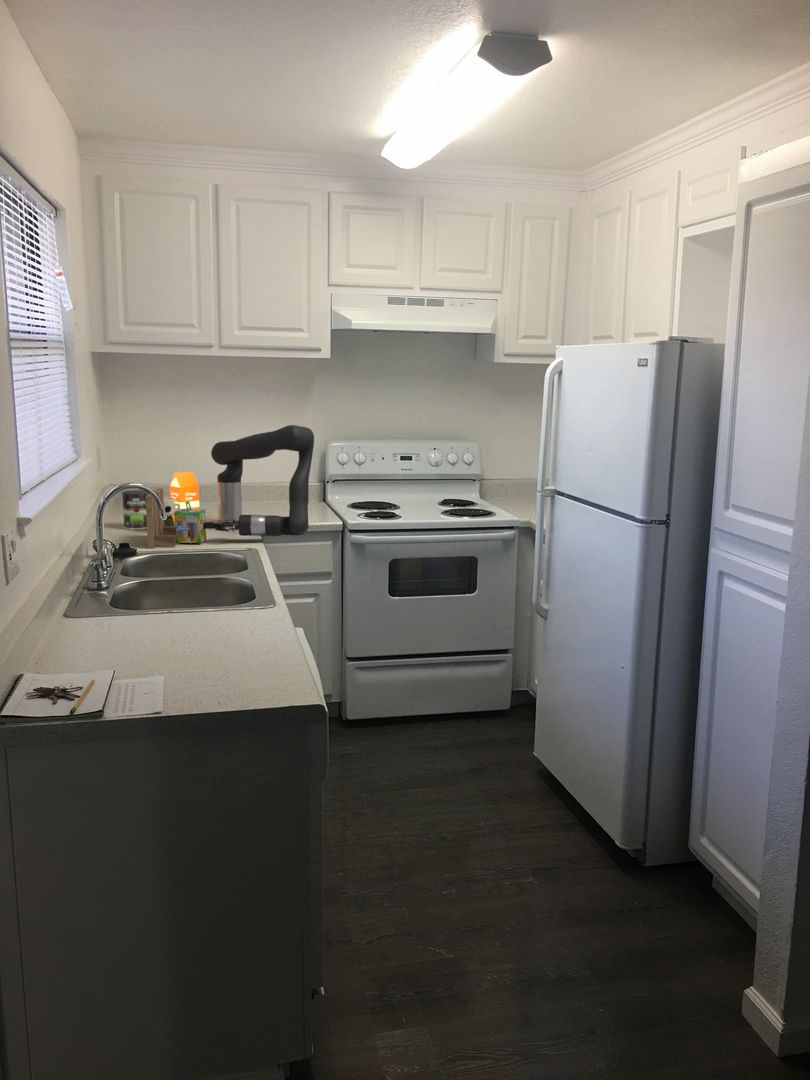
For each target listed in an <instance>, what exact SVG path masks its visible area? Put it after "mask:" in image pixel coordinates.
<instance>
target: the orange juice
mask: <svg viewBox="0 0 810 1080" xmlns="http://www.w3.org/2000/svg"><path fill="white" fill-rule="evenodd" d="M199 488H200V486H199V483H198V482H197V478H196V476H195V475H194V472H193V471H187V472H174V474H173V476H172V480H171V482H170V484H169V497H170V498H175V503H179V504H180V509H187V507H186V504H185V502H186V501H189V502H190V505H191V508H192V509H200V495H199V493H200V492H199ZM188 508H189V504H188ZM175 509H178V506H175ZM172 517H173V520H174V521H175V518H174V515H173V516H172Z"/></svg>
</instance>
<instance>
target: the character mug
mask: <svg viewBox="0 0 810 1080" xmlns="http://www.w3.org/2000/svg"><path fill="white" fill-rule="evenodd" d="M175 506H178V509H175ZM164 509H165V512H166V515H167V519H166V520H165V527H170V526H175V522H174V520H173V517H172V516H173V515H174V512H176V511H178V510H180V504H179V503H175V498H170V496H169V497H167V496H166V497H164Z"/></svg>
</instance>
